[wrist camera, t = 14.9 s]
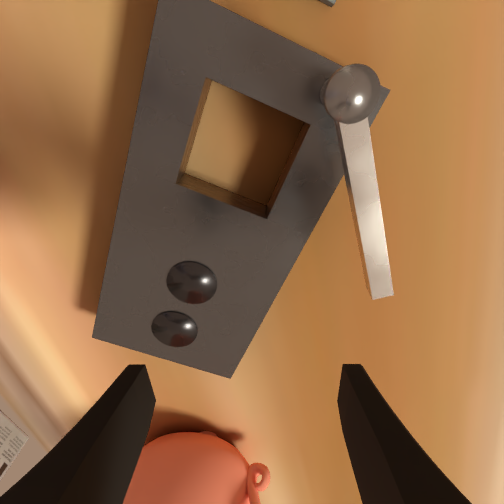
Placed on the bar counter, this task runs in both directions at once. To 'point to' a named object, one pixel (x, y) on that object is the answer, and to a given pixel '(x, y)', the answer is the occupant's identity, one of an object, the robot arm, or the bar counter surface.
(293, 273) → the bar counter surface
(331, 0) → the mat
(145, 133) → the grey lever panel
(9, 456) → the coffee box
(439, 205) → the bar counter surface
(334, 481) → the bar counter surface
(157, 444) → the sugar bowl
